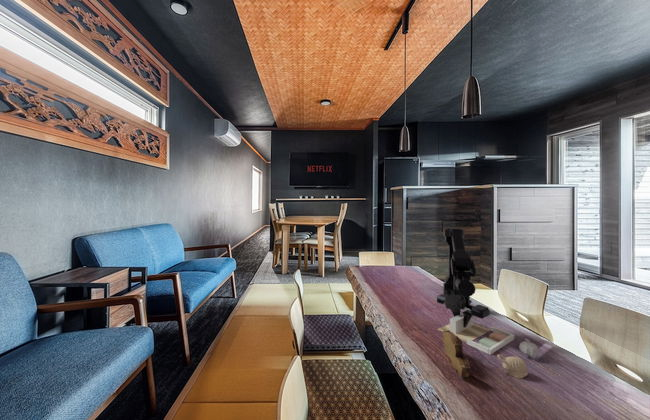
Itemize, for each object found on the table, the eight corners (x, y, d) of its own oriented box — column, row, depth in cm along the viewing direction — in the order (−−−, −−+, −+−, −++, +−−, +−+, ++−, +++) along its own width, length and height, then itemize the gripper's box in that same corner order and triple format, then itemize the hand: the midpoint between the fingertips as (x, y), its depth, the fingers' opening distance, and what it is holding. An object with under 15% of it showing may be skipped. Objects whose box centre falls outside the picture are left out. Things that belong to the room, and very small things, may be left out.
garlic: (516, 349, 90) (516, 334, 90) (536, 352, 88) (536, 338, 87) (521, 358, 84) (521, 343, 84) (542, 362, 82) (542, 347, 82)
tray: (491, 333, 100) (491, 326, 100) (514, 342, 94) (514, 334, 94) (466, 347, 91) (466, 339, 91) (490, 359, 84) (490, 350, 84)
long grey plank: (466, 323, 106) (466, 311, 106) (472, 325, 104) (472, 313, 104) (449, 331, 100) (449, 318, 100) (455, 334, 98) (455, 321, 97)
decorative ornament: (531, 380, 74) (531, 362, 74) (498, 374, 77) (499, 357, 77) (525, 371, 78) (525, 354, 78) (494, 366, 81) (494, 350, 80)
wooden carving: (477, 384, 73) (478, 350, 73) (461, 384, 73) (461, 350, 73) (450, 350, 89) (450, 323, 89) (437, 350, 89) (437, 323, 89)
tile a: (495, 337, 97) (495, 331, 97) (508, 343, 93) (508, 336, 93) (489, 341, 94) (489, 334, 94) (502, 347, 91) (502, 340, 90)
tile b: (485, 343, 93) (485, 336, 93) (498, 349, 89) (498, 342, 89) (478, 347, 91) (478, 340, 90) (492, 353, 87) (492, 346, 87)
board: (461, 321, 110) (461, 318, 110) (490, 333, 100) (490, 330, 100) (437, 332, 102) (437, 329, 101) (467, 347, 91) (467, 343, 91)
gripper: (428, 284, 105) (428, 321, 105) (474, 299, 89) (474, 342, 90) (444, 280, 111) (444, 315, 111) (490, 292, 95) (490, 333, 95)
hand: (461, 325), depth 102 cm, fingers closed on long grey plank, 2 cm apart
